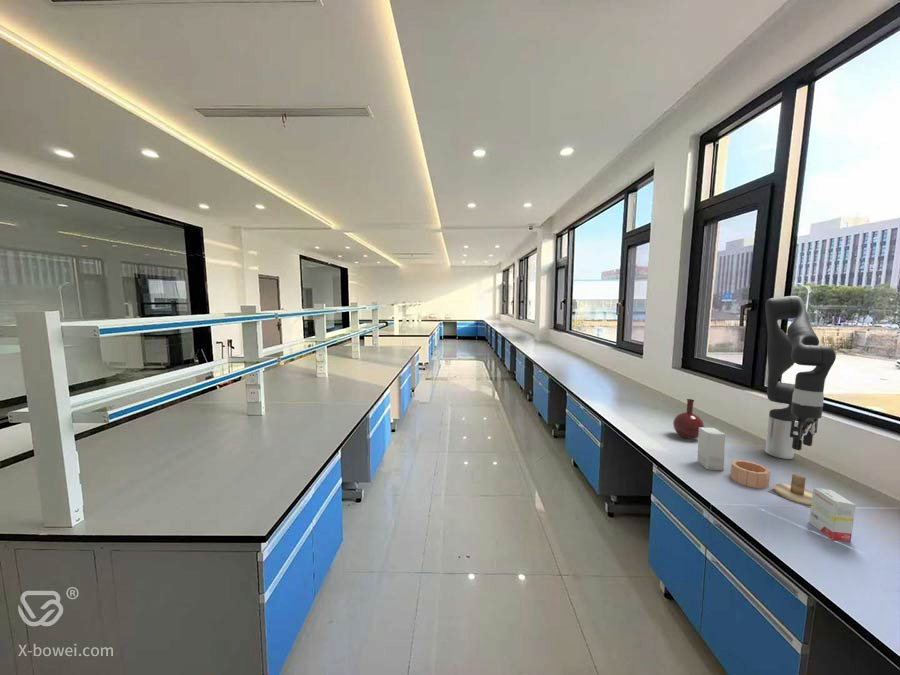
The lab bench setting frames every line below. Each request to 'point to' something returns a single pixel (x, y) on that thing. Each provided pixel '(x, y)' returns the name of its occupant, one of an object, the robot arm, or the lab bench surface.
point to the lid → (795, 490)
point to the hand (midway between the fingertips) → (801, 447)
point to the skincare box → (711, 448)
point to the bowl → (750, 474)
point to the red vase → (688, 422)
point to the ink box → (832, 514)
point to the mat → (785, 498)
